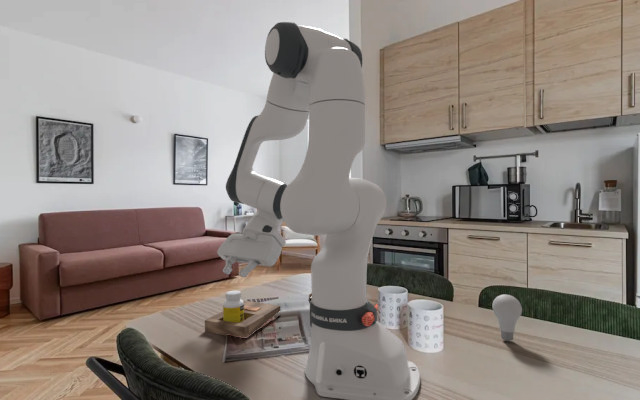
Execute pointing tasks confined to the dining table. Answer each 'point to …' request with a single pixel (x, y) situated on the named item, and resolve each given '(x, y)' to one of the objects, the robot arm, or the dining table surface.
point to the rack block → (254, 318)
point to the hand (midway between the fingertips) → (233, 274)
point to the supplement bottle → (233, 307)
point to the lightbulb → (507, 314)
